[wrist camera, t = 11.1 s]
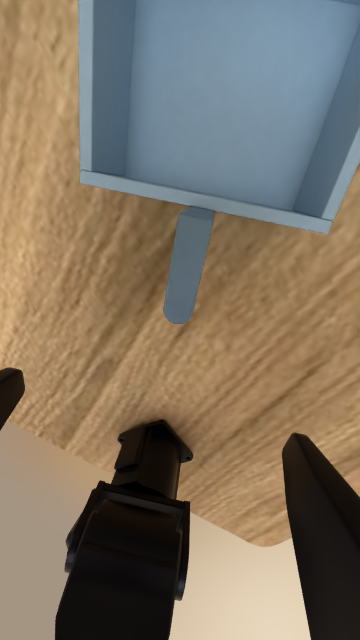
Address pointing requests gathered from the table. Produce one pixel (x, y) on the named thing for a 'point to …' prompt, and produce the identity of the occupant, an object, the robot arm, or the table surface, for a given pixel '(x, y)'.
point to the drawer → (221, 113)
